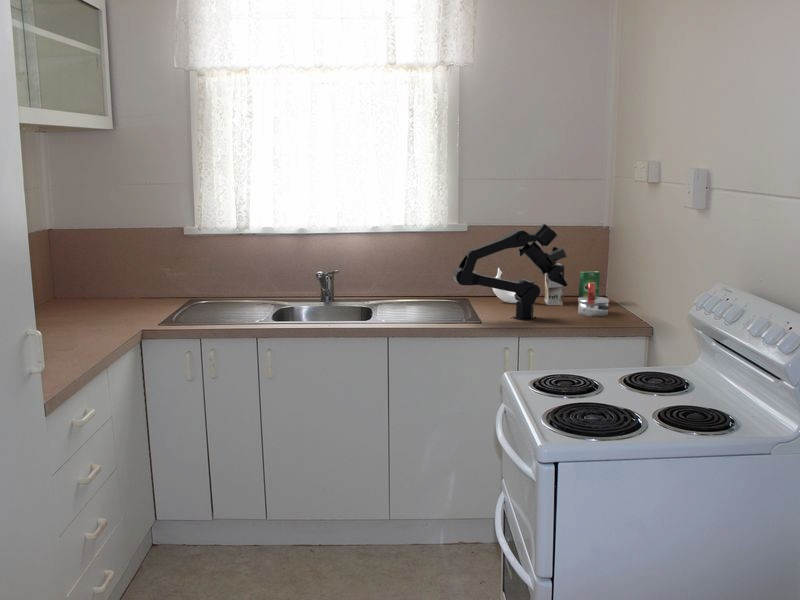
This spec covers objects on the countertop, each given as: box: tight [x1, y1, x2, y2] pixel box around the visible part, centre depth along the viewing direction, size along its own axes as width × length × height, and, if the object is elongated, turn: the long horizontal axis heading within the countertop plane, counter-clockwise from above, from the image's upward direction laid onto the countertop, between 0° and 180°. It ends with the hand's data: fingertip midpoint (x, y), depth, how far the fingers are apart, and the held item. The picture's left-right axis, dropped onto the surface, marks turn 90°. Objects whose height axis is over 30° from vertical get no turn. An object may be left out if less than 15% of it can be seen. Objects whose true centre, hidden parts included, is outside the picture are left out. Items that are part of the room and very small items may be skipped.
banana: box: [492, 267, 517, 304], centre depth 330 cm, size 5×19×15 cm, turn 83°
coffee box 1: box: [544, 262, 565, 306], centre depth 330 cm, size 9×6×16 cm
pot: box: [577, 302, 610, 318], centre depth 310 cm, size 16×11×4 cm
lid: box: [577, 283, 610, 304], centre depth 307 cm, size 15×12×8 cm
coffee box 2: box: [578, 270, 601, 298], centre depth 330 cm, size 8×3×13 cm, turn 109°
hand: (566, 285), depth 300 cm, fingers closed
